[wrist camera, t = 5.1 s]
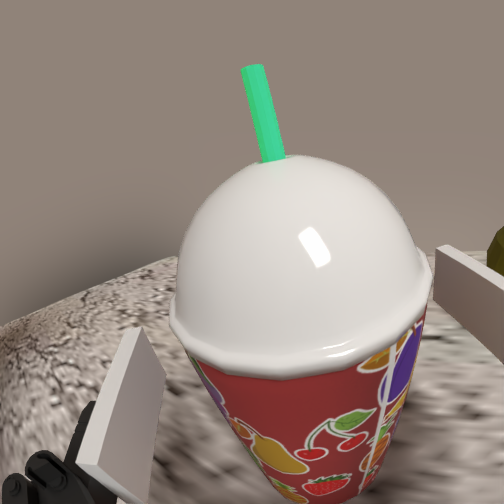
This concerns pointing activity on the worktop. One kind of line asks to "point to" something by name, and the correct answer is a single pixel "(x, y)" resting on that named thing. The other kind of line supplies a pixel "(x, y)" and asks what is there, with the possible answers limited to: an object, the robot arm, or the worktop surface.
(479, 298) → the robot arm
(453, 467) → the worktop surface
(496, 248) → the apple
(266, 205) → the smoothie
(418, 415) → the worktop surface
